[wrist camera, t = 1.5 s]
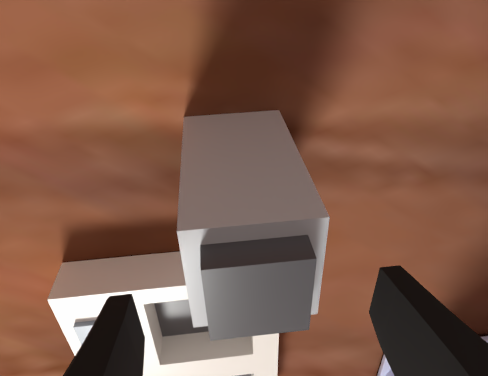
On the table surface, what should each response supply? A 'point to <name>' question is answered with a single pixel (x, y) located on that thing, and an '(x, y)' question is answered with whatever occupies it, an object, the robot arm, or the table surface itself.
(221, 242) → the plug
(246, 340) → the socket strip
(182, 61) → the table surface
